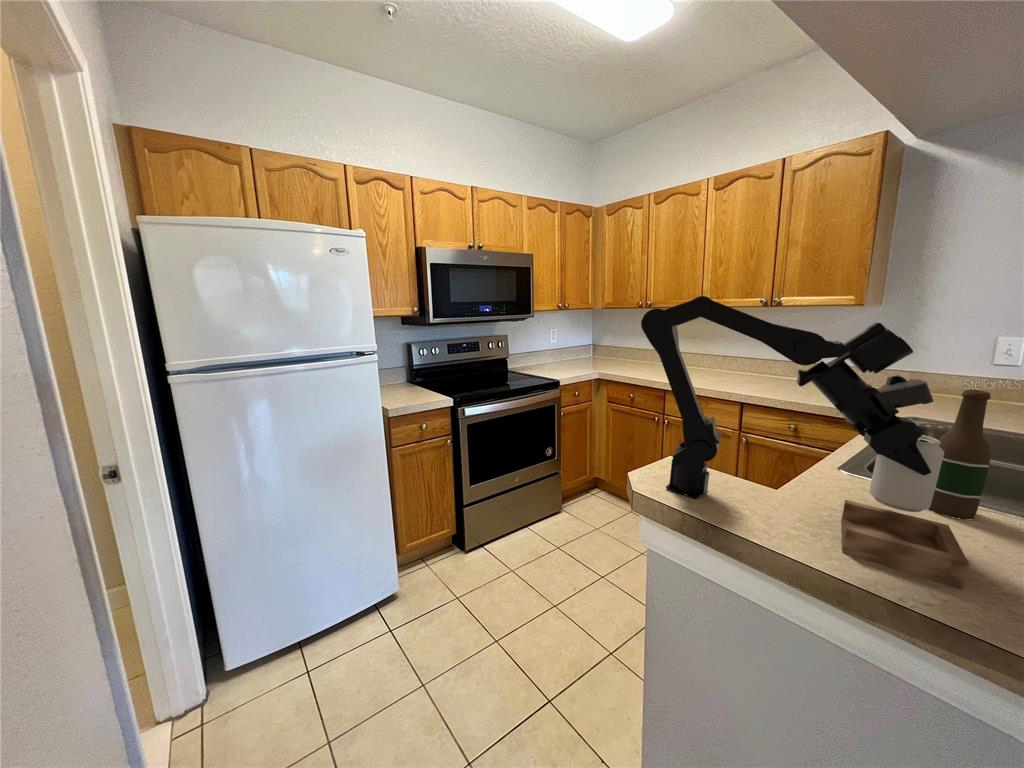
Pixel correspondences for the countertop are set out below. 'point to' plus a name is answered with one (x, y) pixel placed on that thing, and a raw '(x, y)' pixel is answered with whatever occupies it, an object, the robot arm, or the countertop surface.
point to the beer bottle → (963, 460)
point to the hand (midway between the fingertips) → (918, 465)
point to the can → (907, 479)
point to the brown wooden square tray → (903, 543)
